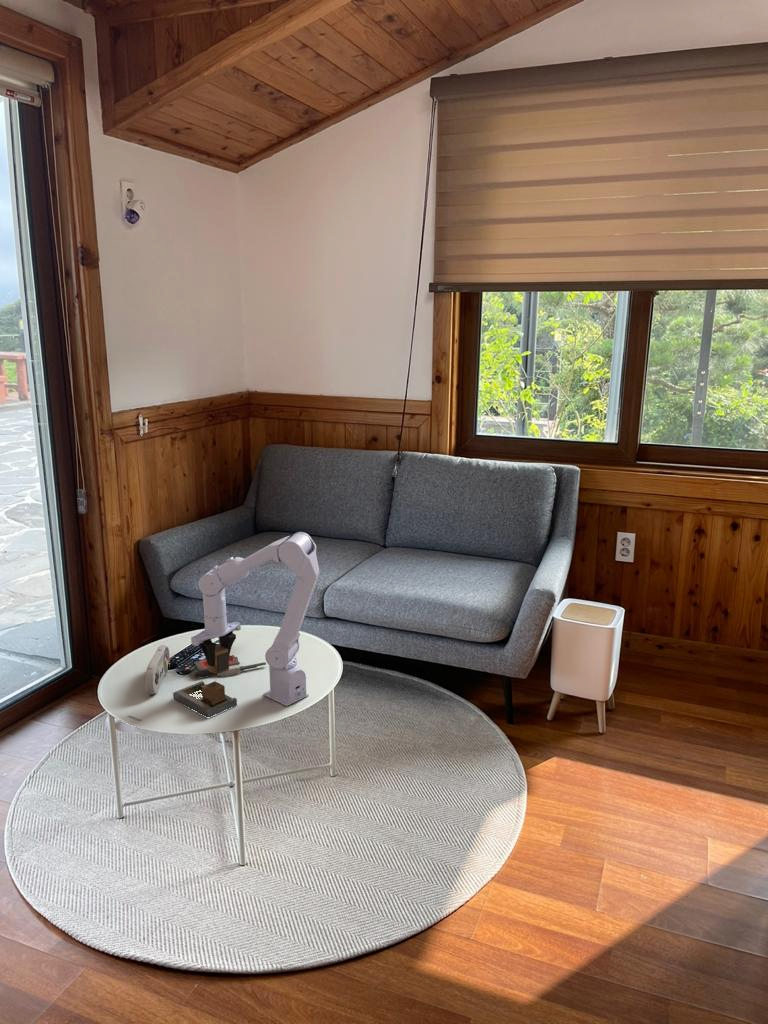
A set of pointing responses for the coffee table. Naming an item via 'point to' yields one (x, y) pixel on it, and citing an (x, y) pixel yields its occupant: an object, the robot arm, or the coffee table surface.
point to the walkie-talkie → (233, 669)
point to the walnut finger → (220, 660)
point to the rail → (205, 698)
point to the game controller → (157, 669)
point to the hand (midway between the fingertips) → (218, 662)
